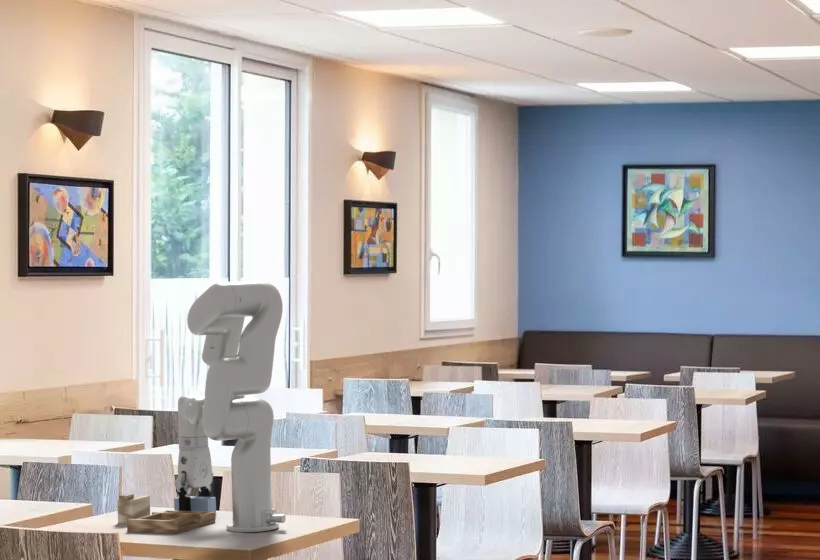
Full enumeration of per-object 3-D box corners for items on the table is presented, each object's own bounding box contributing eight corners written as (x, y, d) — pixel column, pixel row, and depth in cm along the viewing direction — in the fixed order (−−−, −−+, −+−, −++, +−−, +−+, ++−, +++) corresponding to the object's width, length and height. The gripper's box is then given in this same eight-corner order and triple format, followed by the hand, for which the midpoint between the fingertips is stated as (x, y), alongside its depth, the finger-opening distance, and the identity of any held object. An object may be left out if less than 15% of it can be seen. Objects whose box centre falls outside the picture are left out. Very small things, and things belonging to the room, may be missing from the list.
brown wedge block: (150, 519, 368) (149, 491, 368) (131, 524, 360) (130, 495, 360) (135, 518, 370) (135, 490, 370) (116, 523, 362) (115, 495, 362)
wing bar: (216, 516, 370) (215, 497, 370) (208, 519, 366) (207, 499, 366) (182, 515, 374) (182, 496, 374) (174, 517, 370) (174, 498, 370)
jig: (215, 522, 360) (215, 510, 360) (176, 533, 343) (176, 521, 343) (167, 520, 365) (167, 508, 365) (127, 531, 349) (126, 519, 349)
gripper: (188, 447, 361) (189, 515, 361) (223, 439, 377) (224, 505, 377) (162, 446, 364) (164, 514, 364) (198, 439, 380) (199, 503, 380)
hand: (194, 509), depth 370 cm, fingers open, 9 cm apart
